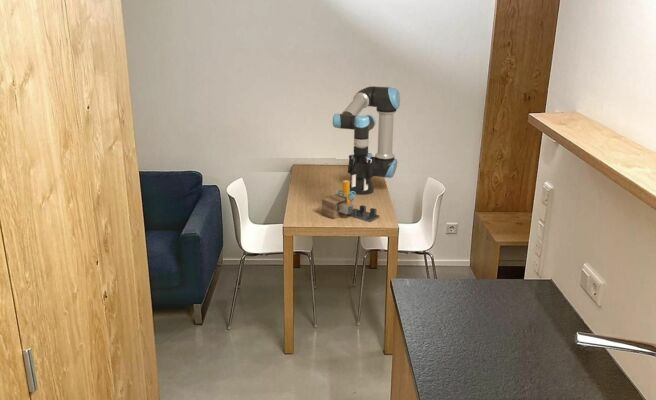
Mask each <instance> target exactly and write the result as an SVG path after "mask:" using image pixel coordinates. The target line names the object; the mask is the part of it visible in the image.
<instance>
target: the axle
mask: <svg viewBox="0 0 656 400" xmlns="http://www.w3.org/2000/svg"><path fill="white" fill-rule="evenodd" d="M353 207H354V206H353V204H352V203H351V204H347V203H343V202H339V203H337V211H338V212H341V213H345V214H344V215H346V214H350V213H352V210H353V209H354V208H353Z"/></svg>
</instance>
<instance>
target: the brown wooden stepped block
mask: <svg viewBox="0 0 656 400" xmlns="http://www.w3.org/2000/svg"><path fill="white" fill-rule="evenodd" d="M340 195H341V194H340ZM340 195H337V193H335V194H333V195H331V196H328V197H326V198H323V199H321V200H322V202H321V216H322V217H325V218H327V219H331V220H336V219H338V218H340V217H342V216H344V215H346V214H345V213H341V212H338V211H337V203H339V202H343V203H347V197H344V196H342V195H341V196H340Z"/></svg>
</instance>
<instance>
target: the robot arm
mask: <svg viewBox="0 0 656 400" xmlns="http://www.w3.org/2000/svg"><path fill="white" fill-rule="evenodd" d="M400 103H401V95H400V92H399V90H398V89H397V88H396V87H389V86H367V87H364V88H362V89H359V90H358V91H357V92H356V93H355V94H354V96H353V98H352V100H351V102H350V103H349V104H348V105H347V107H346V108H345V109H344V110H343V111H342V113H334V114H333V117H332V127H333V128H336V129H341V130H343V129H344V130H345V129H346V130H353V154H349V155H348V165H347V167H348V168H347V173H348V174H350V192H351V191H354V192H355V193H356V195H369V194H372V193H374V190H375V186H374V184H373V183H374V182H373V181H372V180H373V179H372V178H374V177H379V178H385V179H386V178H389V179H391V178H393V177H394V176H395V173H396V170H397V167H398V166H397V165H398V159H397V158H395V154H394V153H393V141H394V140H393V139H394V118H395V117H394V115H395V113H396V112H397V110H398V109H399V108H400V106H401V104H400ZM367 107H372V108H373V107H375V108H376V110H375V111H376V112H377V113H378V129H377V131H378V132H377V133H378V135H377V152H376V153H375V154H374V156H373V154H372V152H369V143H370V142H369V139H370V138H369V134H370V133H369V132H370V131H371V130H372V129H374V128H375V126H376V123H377V121H376V118H375V117H374V116H373V115H371V114H368V115H367V114H366V115H363V114H362V115H360V113H361V112H362V111H363V110H364V109H365V108H367ZM354 192H352V194H354Z"/></svg>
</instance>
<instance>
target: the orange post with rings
mask: <svg viewBox="0 0 656 400" xmlns="http://www.w3.org/2000/svg"><path fill="white" fill-rule="evenodd" d="M350 184H351V180H348V179H345V180H342V189H339V190H338V192H337V193H336V194H337V195H340V196H344V197H347V204H351V205H352V201H354V200H355V198H356V196H357V194H356V193H355V192H354V191H351V192H350ZM352 192H354V193H352Z"/></svg>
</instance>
